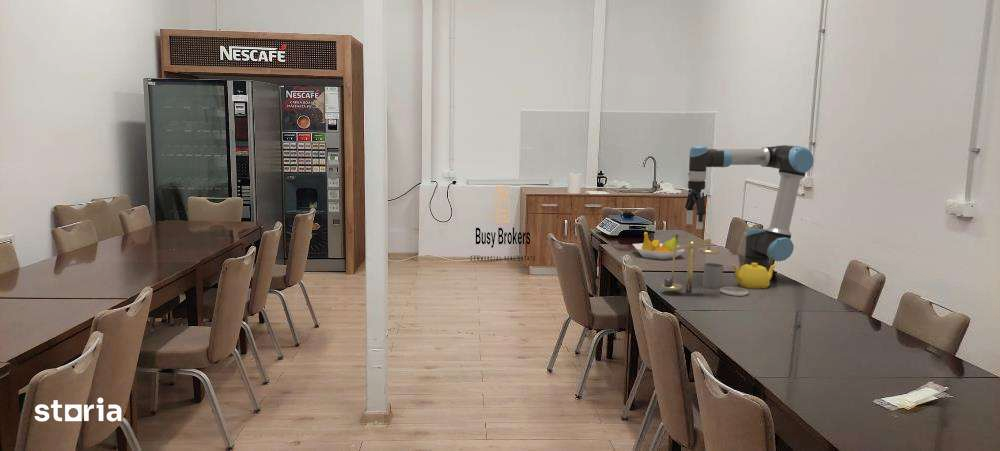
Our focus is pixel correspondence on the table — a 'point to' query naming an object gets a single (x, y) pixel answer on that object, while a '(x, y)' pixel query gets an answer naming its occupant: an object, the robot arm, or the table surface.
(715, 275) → the cup
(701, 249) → the balance
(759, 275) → the teapot
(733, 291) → the dish
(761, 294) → the table surface
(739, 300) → the table surface
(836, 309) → the table surface
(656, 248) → the fruit
